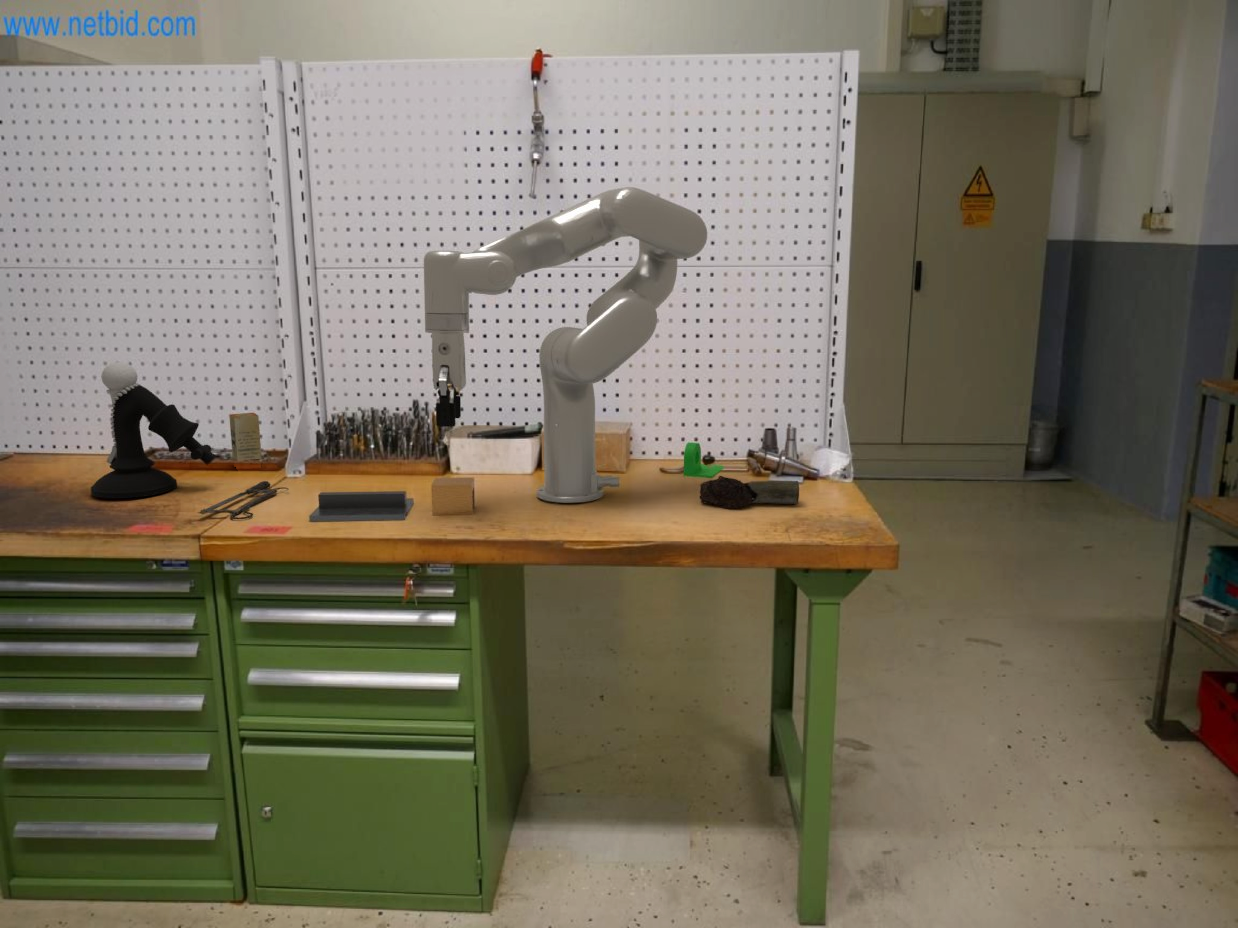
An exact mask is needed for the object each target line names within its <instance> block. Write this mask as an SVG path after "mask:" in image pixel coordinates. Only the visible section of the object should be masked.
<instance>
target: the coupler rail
mask: <svg viewBox="0 0 1238 928" xmlns="http://www.w3.org/2000/svg"><path fill="white" fill-rule="evenodd" d="M317 496H318V506H317V507H316V509H314V511H312V512H311V513H310V514H309V516H308V517H309V518H308V519H309V522H352V521H354V522H355V521H356V522H358V521H359V522H361V521H362V522H363V521H364V522H365V521H369V522H370V521H404V520H405V519H406V518H407V516H408V514H409V513H410V511H411V509H412V507H413V506H414V504H415V503H414V502H415V501H414V500H415V499H414V498H412V497H410V498H409V497H407V491H406V490H405V491H402V490H401V491H400V490H399V491H398V490H397V491H396V490H395V491H392V490H391V491H387V490H385V491H384V490H383V491H324V492H323V491H321V492H320V493H319V494H318V495H317Z"/></svg>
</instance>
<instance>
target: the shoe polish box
mask: <svg viewBox="0 0 1238 928" xmlns="http://www.w3.org/2000/svg"><path fill="white" fill-rule="evenodd" d="M259 417H260V416H259V414H256V413H255V412H246V413H245V412H243V413H242V412H241V413H231V414H230V413H229V414H228V418H229V427H230V441H231V442H230V443H231V453H232V458H233V457H234V458H235V459H236V460H237V461H244V460H250V459H263V458H262V447H261V432H260V418H259Z"/></svg>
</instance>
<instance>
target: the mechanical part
mask: <svg viewBox="0 0 1238 928" xmlns="http://www.w3.org/2000/svg"><path fill="white" fill-rule="evenodd" d="M709 465H710V466H706V465H704V464H703V463H702V449H701V445H700V443H699V442H687V443H686V444H685V447H684V451H683V477H693V478H694V477H696V478H707V479H708V478H709V479H713V478H714V477H715V476H716V475H718V474H719V473H720V472H721V471H723V469H724V468H725V466H724V465H720V464H709Z"/></svg>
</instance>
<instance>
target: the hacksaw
mask: <svg viewBox="0 0 1238 928" xmlns="http://www.w3.org/2000/svg"><path fill="white" fill-rule="evenodd" d="M282 489H283V490H282ZM285 489H286V490H285ZM278 490H280V491H279V492H281V493H282V492H284V490H285V492H286V491H289V488H288V487H281V486H280V487H276V488H275V487H274V488H271V483H270V482H269V481H268V480H267V481H266V480H263V481H260V482H259V483H257V484H256V485H253V486H251V487H249V488H247V489H245V490H244V492H239V493H237V494H235V495H233V496H231V497H228V498H226V499H224V500H223V501H220V502H217V503H216V504H214V505H212V506H209V507H207V508H203V509H201V510H200V511H198V512H197V513H198V514H201V515H205V514H223V513H224V514H230V516H229V518H230V519H232V520H248V519H250V518H252V517H253V516H254V513H253V512H250V511H248V510H249V509H251V506H253V505H255V504H256V503H259V502H260V501H262V500H265V499H267V498H268V497H270V496H272V495H274V494H277V492H278ZM281 490H282V491H281ZM251 494H261V495H258V496H256V497H255V498H253V499H251V500H249V501H247V502H246V503H244V504H243V505H240V506H239V507H238V508H236V509H218V508H220V507H222V506H224V505H226V504H228V503H231V502H233V501H235V500H237V499H239V498H242V497H243V496H245V495H251ZM241 512H242V513H244V514H247V516H240V517H238V516H237V515H239V514H241ZM235 516H236V517H235Z"/></svg>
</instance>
